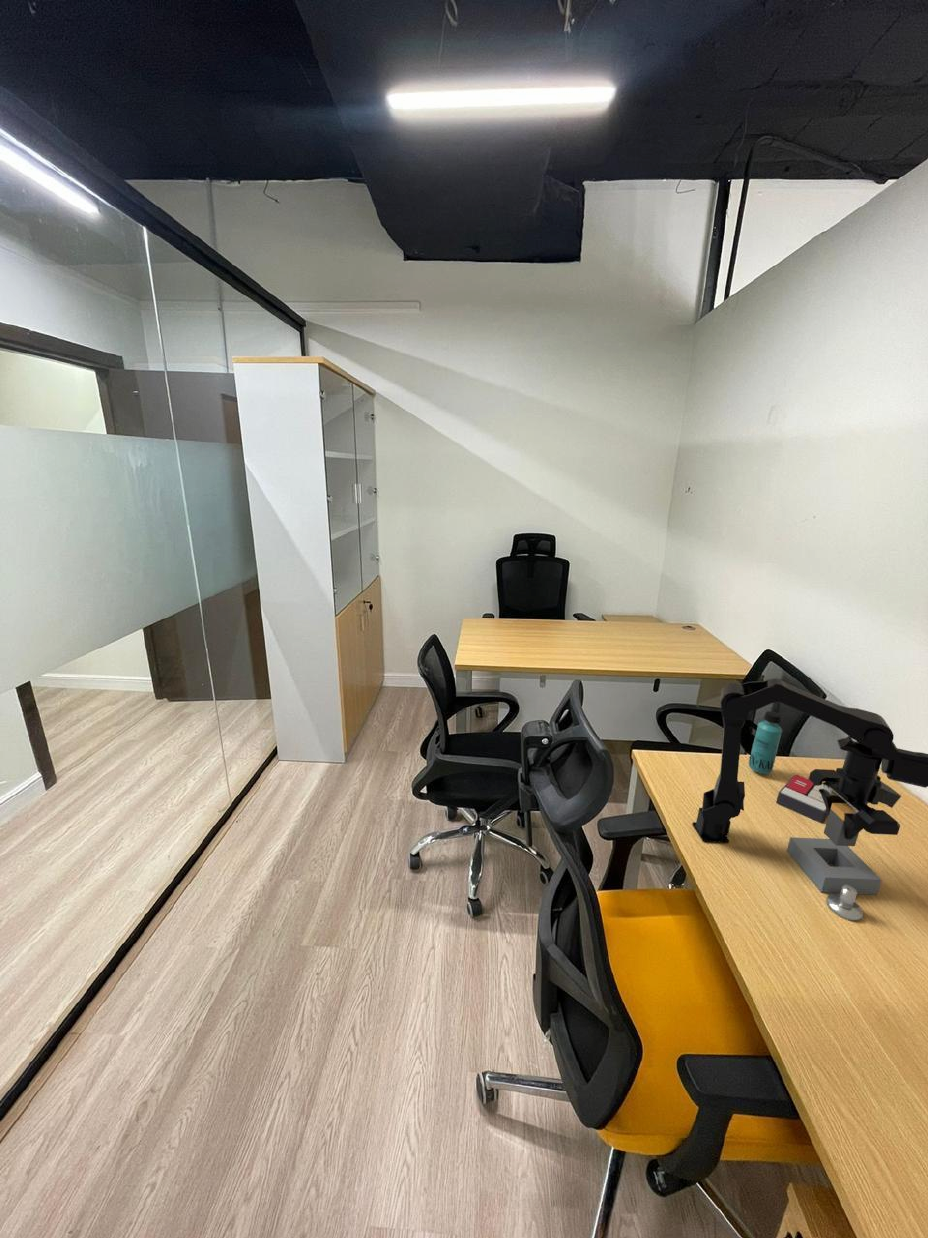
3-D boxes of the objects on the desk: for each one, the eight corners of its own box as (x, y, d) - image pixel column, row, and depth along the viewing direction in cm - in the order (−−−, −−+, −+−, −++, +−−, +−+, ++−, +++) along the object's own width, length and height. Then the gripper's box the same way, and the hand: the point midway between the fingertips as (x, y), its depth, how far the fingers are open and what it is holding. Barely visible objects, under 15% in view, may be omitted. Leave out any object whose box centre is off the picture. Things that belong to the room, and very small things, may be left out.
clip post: (839, 920, 98) (845, 901, 96) (819, 896, 103) (825, 877, 102) (869, 922, 98) (876, 902, 96) (847, 897, 103) (853, 878, 102)
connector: (836, 845, 106) (845, 814, 103) (823, 832, 110) (832, 802, 107) (854, 846, 106) (864, 815, 103) (841, 833, 109) (850, 803, 107)
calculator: (840, 790, 134) (826, 810, 125) (836, 803, 136) (822, 825, 126) (794, 772, 142) (778, 790, 132) (791, 785, 143) (775, 803, 134)
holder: (820, 892, 104) (825, 877, 103) (786, 851, 116) (790, 837, 115) (876, 894, 104) (881, 879, 103) (836, 853, 116) (841, 839, 115)
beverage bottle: (749, 763, 152) (762, 706, 146) (773, 772, 148) (787, 713, 142) (744, 772, 147) (758, 713, 141) (770, 781, 143) (784, 721, 137)
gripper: (938, 800, 94) (914, 866, 98) (863, 748, 111) (846, 806, 116) (880, 798, 94) (859, 863, 98) (815, 746, 112) (799, 804, 116)
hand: (840, 832), depth 107 cm, fingers closed on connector, 4 cm apart
